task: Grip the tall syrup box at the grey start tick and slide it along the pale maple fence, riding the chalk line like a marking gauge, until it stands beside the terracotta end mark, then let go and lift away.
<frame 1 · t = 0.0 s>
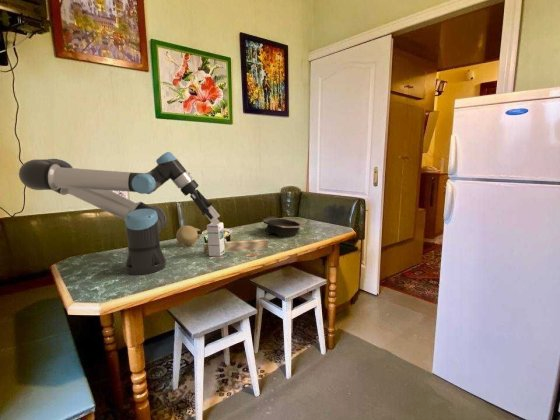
hand: (217, 220, 139), 15 cm above the table, tool tilted 35°, fingers open, 13 cm apart
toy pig: (189, 246, 153), on the table
syrup box: (217, 254, 139), touching maple fence
stone bowl: (284, 234, 175), on the table
maple fence: (236, 250, 145), on the table
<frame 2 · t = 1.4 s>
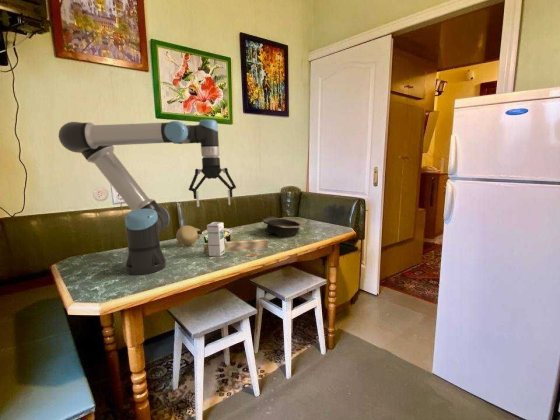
hand: (213, 205, 135), 23 cm above the table, tool pointing down, fingers open, 13 cm apart
nothing on the table moved.
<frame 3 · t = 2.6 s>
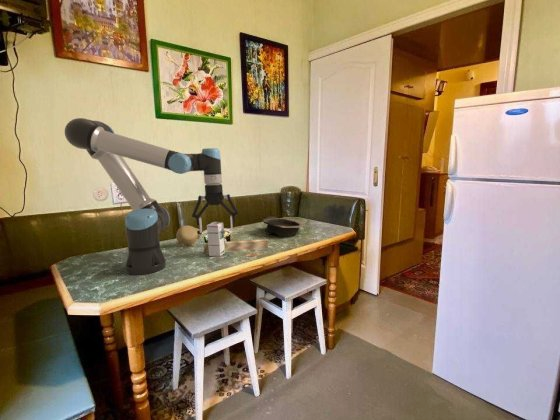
hand: (216, 231, 137), 11 cm above the table, tool pointing down, fingers open, 13 cm apart
nothing on the table moved.
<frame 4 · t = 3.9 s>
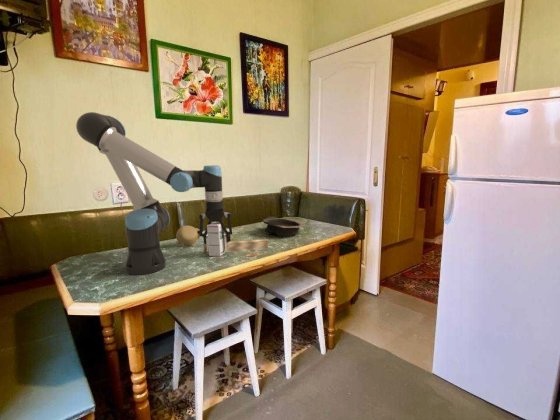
hand: (216, 250, 139), 2 cm above the table, tool pointing down, fingers closed on syrup box, 7 cm apart
syrup box: (217, 254, 139), touching gripper, maple fence
everything else where it was.
when the fingers open (2 cm above the table, at t = 4.8 s): syrup box moves 3 cm, on the table.
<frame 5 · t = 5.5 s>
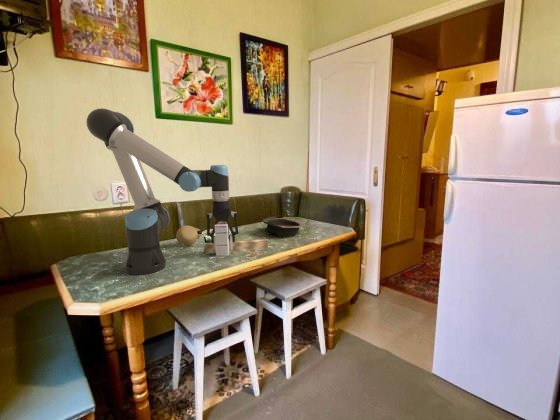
hand: (223, 249, 139), 2 cm above the table, tool pointing down, fingers open, 7 cm apart
syrup box: (223, 254, 140), on the table, touching gripper
everything else where it was.
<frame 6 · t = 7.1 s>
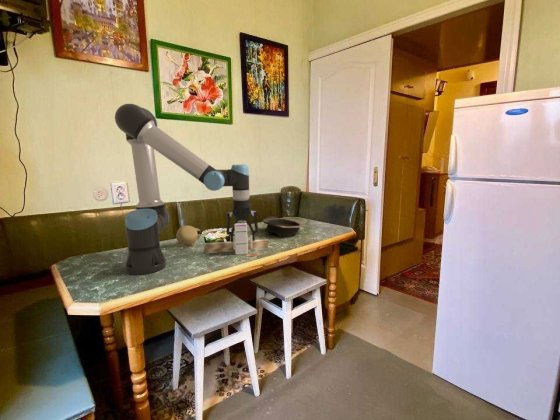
hand: (243, 248, 141), 2 cm above the table, tool pointing down, fingers open, 7 cm apart
syrup box: (241, 252, 141), on the table, touching gripper
everything else where it was.
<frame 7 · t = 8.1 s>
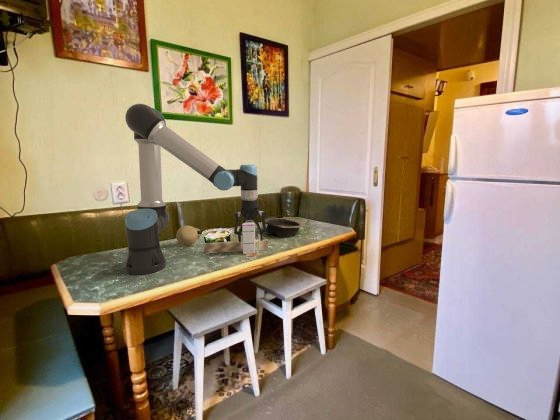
hand: (250, 247, 141), 2 cm above the table, tool pointing down, fingers open, 7 cm apart
syrup box: (248, 252, 142), on the table, touching gripper
everything else where it was.
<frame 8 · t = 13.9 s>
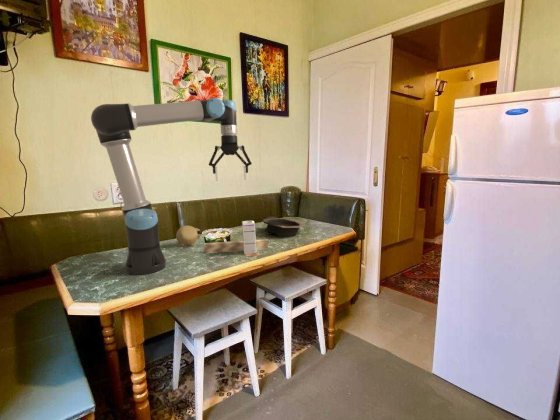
hand: (231, 180, 147), 33 cm above the table, tool pointing down, fingers open, 13 cm apart
syrup box: (249, 252, 142), on the table
everything else where it was.
at the end: syrup box 1.4 cm from the target spot, on the table; syrup box tilted 0°; the gripper is holding nothing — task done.
